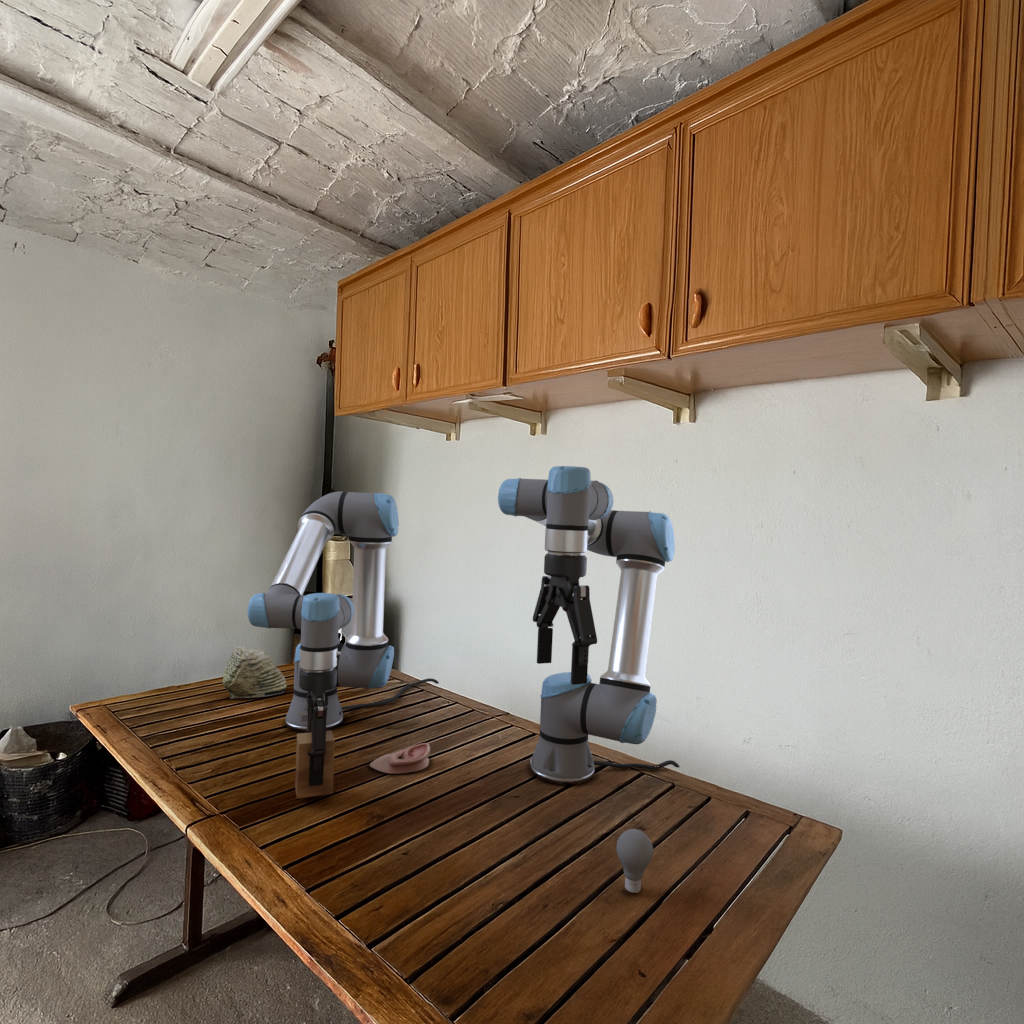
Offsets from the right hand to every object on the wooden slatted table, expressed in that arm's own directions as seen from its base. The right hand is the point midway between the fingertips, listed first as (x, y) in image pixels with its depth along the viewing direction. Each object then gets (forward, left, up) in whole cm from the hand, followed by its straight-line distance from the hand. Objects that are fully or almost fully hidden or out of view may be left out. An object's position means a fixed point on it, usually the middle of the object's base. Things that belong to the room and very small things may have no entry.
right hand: (560, 672), depth 113 cm
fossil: (+55, -109, -34) cm, 127 cm away
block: (+40, -35, -32) cm, 62 cm away
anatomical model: (+19, -47, -34) cm, 61 cm away
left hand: (+40, -35, -30) cm, 60 cm away
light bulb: (-10, +11, -34) cm, 37 cm away
